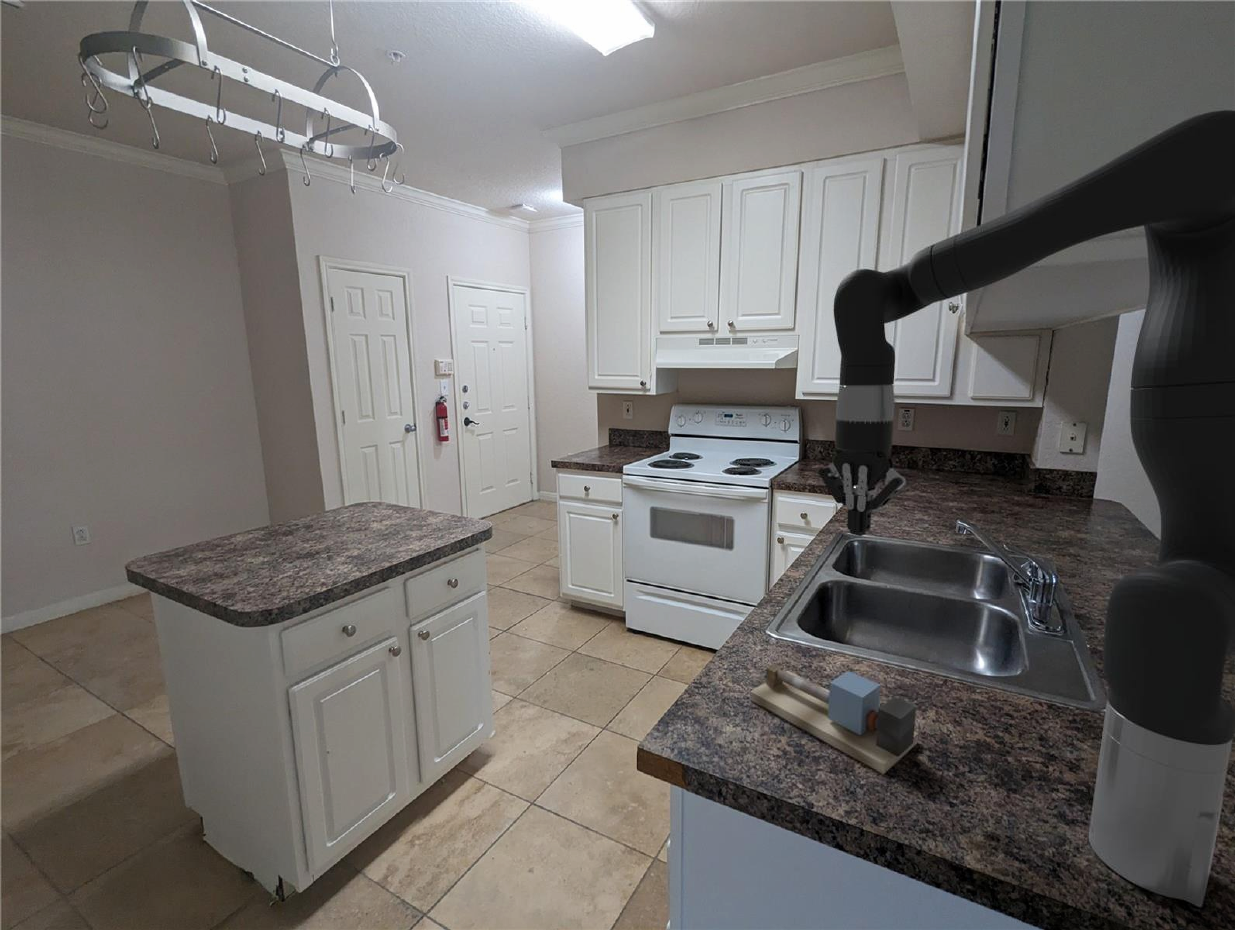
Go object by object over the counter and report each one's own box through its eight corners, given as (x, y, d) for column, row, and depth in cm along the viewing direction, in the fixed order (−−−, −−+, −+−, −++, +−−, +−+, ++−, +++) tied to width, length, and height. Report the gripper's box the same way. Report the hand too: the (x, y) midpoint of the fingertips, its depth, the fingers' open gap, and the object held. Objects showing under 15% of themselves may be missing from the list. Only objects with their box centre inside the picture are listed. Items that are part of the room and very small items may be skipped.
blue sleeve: (878, 721, 81) (880, 684, 80) (860, 735, 78) (862, 697, 77) (846, 705, 85) (848, 670, 84) (828, 718, 82) (829, 682, 81)
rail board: (921, 744, 78) (925, 698, 77) (887, 776, 72) (890, 727, 71) (786, 678, 96) (788, 640, 95) (750, 699, 90) (751, 659, 89)
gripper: (924, 417, 76) (916, 539, 78) (835, 413, 86) (831, 521, 89) (898, 421, 71) (890, 550, 74) (808, 416, 81) (804, 529, 84)
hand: (858, 534), depth 81 cm, fingers closed
